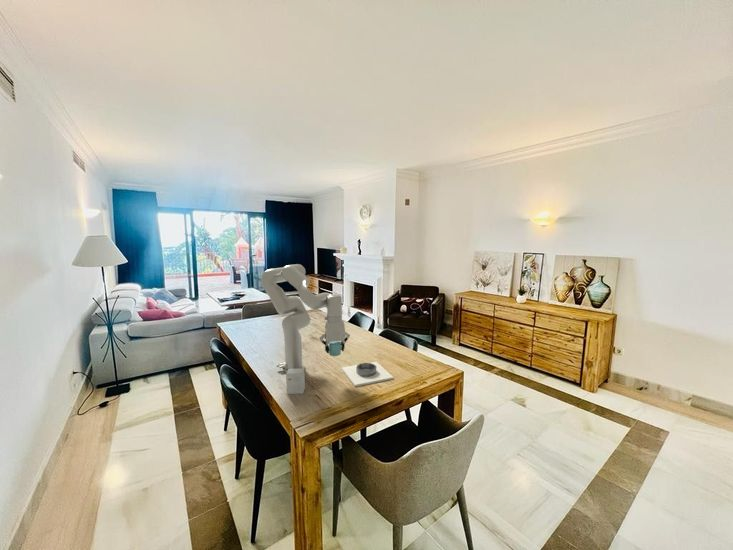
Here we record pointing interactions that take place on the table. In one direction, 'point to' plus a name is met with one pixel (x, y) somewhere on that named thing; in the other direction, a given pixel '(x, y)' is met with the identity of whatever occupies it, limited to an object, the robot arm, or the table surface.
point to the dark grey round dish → (366, 372)
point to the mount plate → (359, 380)
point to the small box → (295, 381)
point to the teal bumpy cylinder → (335, 348)
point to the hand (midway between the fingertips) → (334, 351)
